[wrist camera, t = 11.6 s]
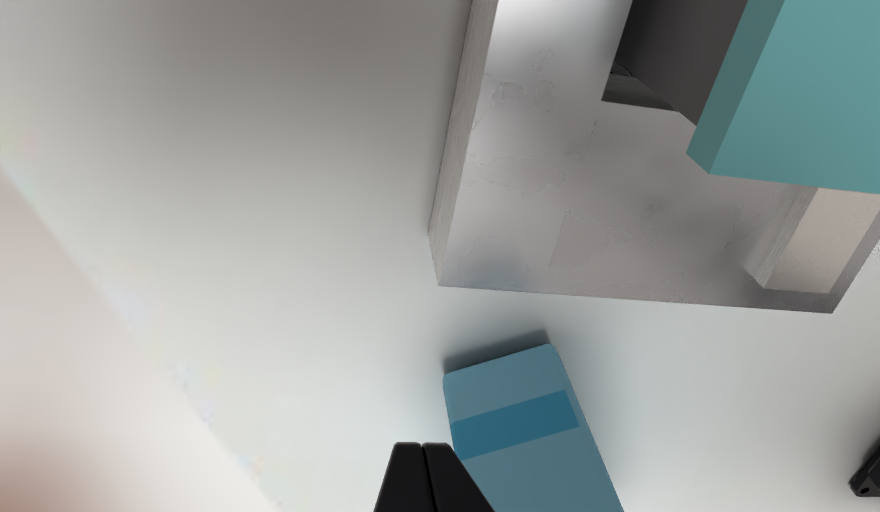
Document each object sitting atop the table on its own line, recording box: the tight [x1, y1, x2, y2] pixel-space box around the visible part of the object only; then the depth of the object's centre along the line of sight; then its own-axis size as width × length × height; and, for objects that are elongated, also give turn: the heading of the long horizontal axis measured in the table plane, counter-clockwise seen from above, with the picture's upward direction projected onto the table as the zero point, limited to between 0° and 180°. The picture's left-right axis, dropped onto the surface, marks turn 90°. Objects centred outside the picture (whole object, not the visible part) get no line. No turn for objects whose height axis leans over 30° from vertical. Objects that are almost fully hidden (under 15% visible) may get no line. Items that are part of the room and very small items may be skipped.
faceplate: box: [428, 0, 880, 314], centre depth 18 cm, size 14×14×4 cm
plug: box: [614, 0, 880, 194], centre depth 15 cm, size 5×5×8 cm
